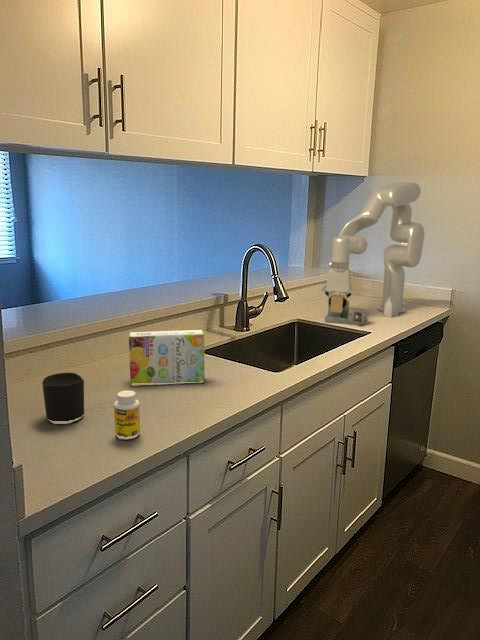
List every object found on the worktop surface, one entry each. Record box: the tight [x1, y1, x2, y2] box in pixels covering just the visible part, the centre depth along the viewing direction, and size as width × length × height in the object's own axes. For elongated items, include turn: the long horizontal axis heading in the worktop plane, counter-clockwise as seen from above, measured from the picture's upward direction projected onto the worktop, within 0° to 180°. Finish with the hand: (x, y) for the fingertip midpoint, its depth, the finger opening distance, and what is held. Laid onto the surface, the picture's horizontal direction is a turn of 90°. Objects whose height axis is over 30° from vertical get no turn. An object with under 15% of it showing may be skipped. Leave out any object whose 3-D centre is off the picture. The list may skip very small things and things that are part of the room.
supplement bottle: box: [113, 390, 141, 437], centre depth 118 cm, size 6×6×10 cm
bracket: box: [324, 301, 367, 326], centre depth 232 cm, size 12×17×8 cm
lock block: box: [330, 293, 344, 313], centre depth 232 cm, size 7×5×6 cm
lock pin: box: [354, 312, 362, 321], centre depth 228 cm, size 14×4×4 cm, turn 163°
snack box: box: [128, 329, 205, 385], centre depth 152 cm, size 21×6×15 cm, turn 100°
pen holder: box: [42, 372, 85, 421], centre depth 127 cm, size 9×9×10 cm
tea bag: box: [383, 294, 399, 319], centre depth 243 cm, size 4×7×10 cm, turn 137°
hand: (337, 306), depth 233 cm, fingers closed on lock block, 5 cm apart
